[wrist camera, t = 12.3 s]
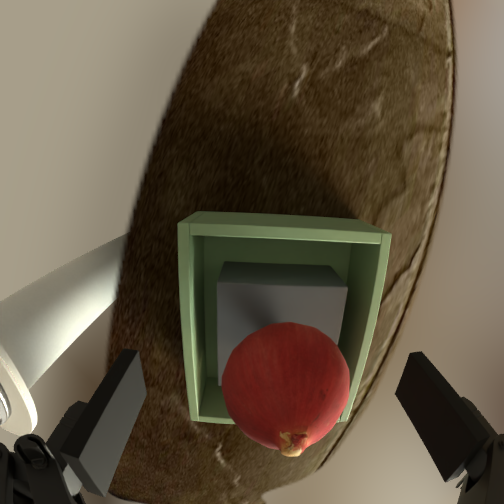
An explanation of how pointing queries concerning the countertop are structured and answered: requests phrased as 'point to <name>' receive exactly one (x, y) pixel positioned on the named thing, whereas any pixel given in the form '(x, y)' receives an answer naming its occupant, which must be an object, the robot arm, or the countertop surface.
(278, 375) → the onion
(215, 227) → the crate
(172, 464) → the countertop surface
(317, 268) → the block
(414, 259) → the countertop surface
